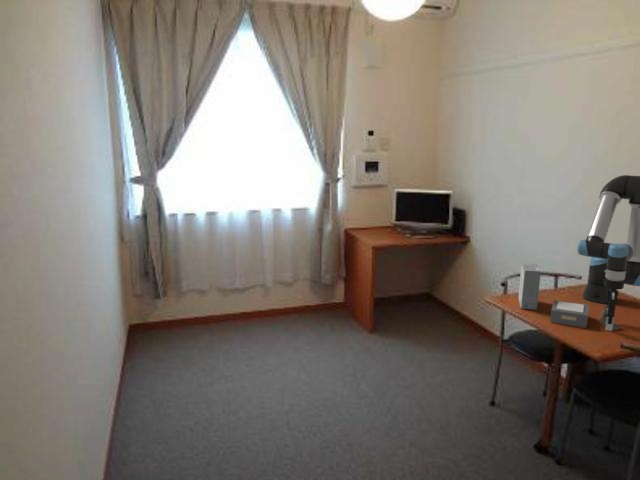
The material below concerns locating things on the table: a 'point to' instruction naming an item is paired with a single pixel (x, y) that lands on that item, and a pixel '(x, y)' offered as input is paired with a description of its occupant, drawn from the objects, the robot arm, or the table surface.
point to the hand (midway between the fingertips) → (608, 326)
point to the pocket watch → (603, 318)
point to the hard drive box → (529, 286)
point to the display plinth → (569, 313)
